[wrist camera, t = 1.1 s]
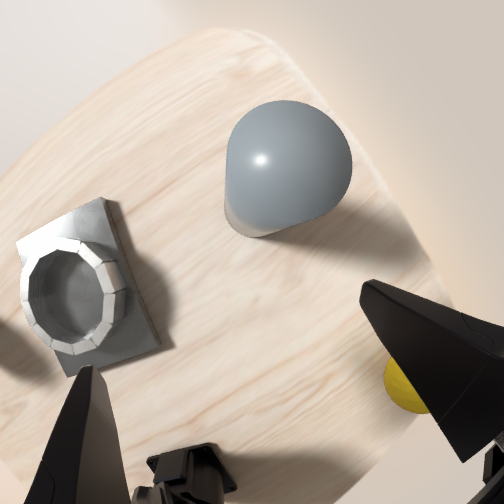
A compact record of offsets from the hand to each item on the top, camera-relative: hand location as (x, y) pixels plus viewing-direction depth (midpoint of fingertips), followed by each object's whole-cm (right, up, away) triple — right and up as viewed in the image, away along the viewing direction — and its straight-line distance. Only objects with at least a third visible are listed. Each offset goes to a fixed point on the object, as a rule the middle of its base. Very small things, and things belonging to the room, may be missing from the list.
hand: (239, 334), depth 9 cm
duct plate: (-13, -1, +13) cm, 18 cm away
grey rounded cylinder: (+1, +6, +14) cm, 15 cm away
